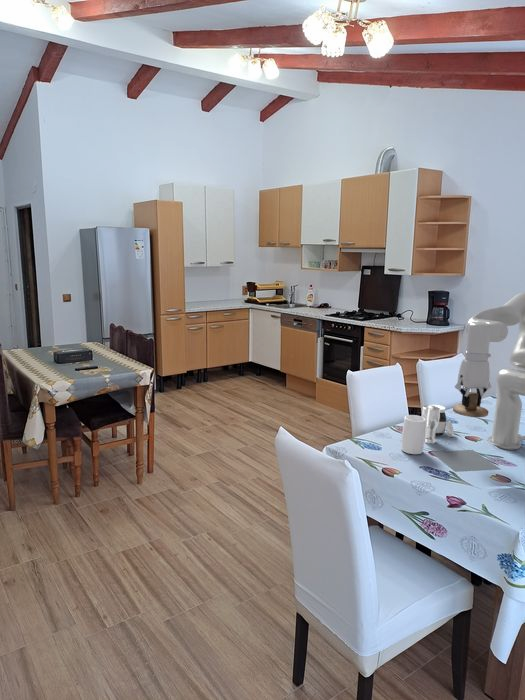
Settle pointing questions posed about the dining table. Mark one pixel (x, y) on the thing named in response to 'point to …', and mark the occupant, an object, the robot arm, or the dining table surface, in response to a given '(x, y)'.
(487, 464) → the mat
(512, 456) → the dining table surface
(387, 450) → the dining table surface
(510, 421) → the robot arm
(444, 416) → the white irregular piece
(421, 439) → the cup
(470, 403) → the lid
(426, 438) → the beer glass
